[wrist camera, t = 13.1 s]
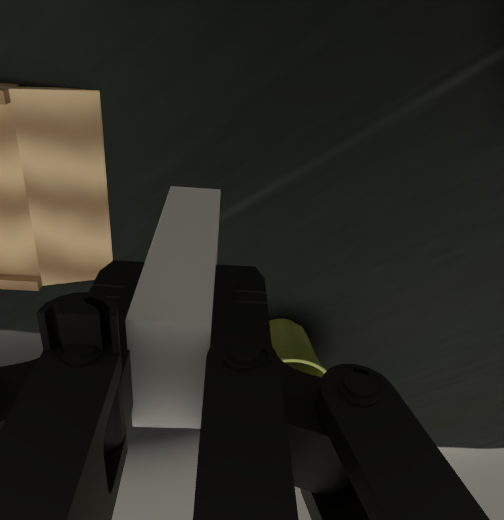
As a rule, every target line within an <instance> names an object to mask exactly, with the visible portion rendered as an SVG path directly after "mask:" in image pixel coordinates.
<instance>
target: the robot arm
mask: <svg viewBox="0 0 504 520" xmlns="http://www.w3.org/2000/svg"><path fill="white" fill-rule="evenodd" d="M220 192H221V190H219V189H204V188H189V187H174V186H171V187H170V190H169V193H168V196H167V199H166V202H165V205H164V208H163V211H162V214H161V217H160V220H159V223H158V225H157V228H156V231H155V234H154V237H153V240H152V243H151V246H150V249H149V252H148V255H147V258H146V261H145V262H134V261H116V260H113V261H112V262H111V263H109V264H108V265H107V266H105V267H104V268H103V269H101V270H100V271H99V273H98V275H97V277H96V279H95V281H94V283H93V286H92V287H91V289H90V291H89V292H83V293H71V294H67V295H64V296H60V297H57V298H55V299H53V300H51V301H49V302H47V303H45V304H44V305H43V306H42V307H41V308H40V309H39V310H38V311H37V312H36V313H37V318H38V323H39V329H40V334H41V339H42V344H43V352H42V354H41V356H40V358H37V359H35V360H32V361H27V362H24V363H19V364H14V365H8V366H2V367H0V520H111V519H112V515H113V511H114V506H115V502H116V498H117V494H118V489H119V485H120V481H121V476H122V472H123V468H124V463H125V459H126V454H127V450H128V444H127V443H128V440H127V428H128V424H129V420H130V415H131V412H132V425H133V427H165V428H166V427H167V428H199V429H200V441H199V454H198V466H197V477H196V490H195V502H194V514H193V515H194V516H193V520H298V512H297V504H296V496H295V488H294V486H296V487H299V488H301V493H302V496H303V498H304V501H305V504H306V506H307V509H308V511H309V514H310V517H311V519H312V520H489V518H488V517H487V515H486V514H485V513H484V511H483V510H482V509H481V507H480V506H479V504H478V503H477V502H476V500H475V499H474V497H473V496H472V495H471V493H470V492H469V490H468V489H467V488H466V486H465V485H464V483H463V482H462V481H461V479H460V478H459V477H458V475H457V474H456V472H455V471H454V470H453V468H452V467H451V466H450V464H449V463H448V461H447V460H446V459H445V457H444V456H443V454H442V453H441V452H440V450H439V449H438V448H437V446H436V445H435V443H434V442H433V441H432V439H431V438H430V436H429V435H428V434H427V432H426V431H425V430H424V428H423V427H422V425H421V424H420V423H419V421H418V420H417V418H416V417H415V416H414V414H413V413H412V412H411V410H410V409H409V407H408V406H407V405H406V403H405V402H404V400H403V399H402V398H401V396H400V395H399V394H398V392H397V391H396V389H395V388H394V387H393V385H392V384H391V383H390V382H389V381H388V380H387V379H386V378H385V377H384V376H383V375H381V374H379V373H378V372H376V371H374V370H372V369H370V368H368V367H364V366H360V365H357V364H340V365H337V366H334V367H331V368H330V369H329V370H327V371H326V372H325V373H324V374H323V376H322V377H319V376H315V375H312V374H308V373H305V372H302V371H299V370H297V369H294V368H292V367H291V366H289V365H287V364H286V363H284V362H283V361H282V360H281V359H280V358H279V357H278V356H277V353H276V351H275V349H274V348H273V346H272V343H271V334H270V325H269V315H268V306H267V297H266V288H265V279H264V277H263V276H262V275H261V273H260V272H259V271H258V270H257V269H256V267H250V266H232V265H217V248H218V229H219V211H220Z"/></svg>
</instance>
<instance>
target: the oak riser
mask: <svg viewBox="0 0 504 520" xmlns="http://www.w3.org/2000/svg"><path fill="white" fill-rule="evenodd" d="M112 261H113V258H112V245H111V233H110V220H109V207H108V194H107V181H106V169H105V156H104V143H103V130H102V118H101V105H100V92H99V91H96V90H84V89H71V88H55V87H20V84H9V83H0V289H12V290H32V291H39V290H40V288H41V287H42V286H44V285H52V284H61V283H69V282H78V281H86V280H95V279H96V277H97V275H98V273H99V271H100V270H101V269H103V268H104V267H105V266H107V265H108V264H109V263H111V262H112Z"/></svg>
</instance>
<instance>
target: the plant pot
mask: <svg viewBox="0 0 504 520" xmlns="http://www.w3.org/2000/svg"><path fill="white" fill-rule="evenodd" d="M269 325H270V334H271V343H272V346H273V348H274V349H275V351H276V353H277V356H278V357H279V358H280V359H281V360H282V361H283V362H284V363H286V364H287V365H289V366H291V367H292V368H294V369H297V370H299V371H302V372H305V373H308V374H312V375H315V376H319V377H322V376H323V374H324V373H325V372H326V371H327V370H326V369H325V368H324V367H323V366H322V365H321V364H320V363H319V361H318V359H317V357H316V354H315V352H314V350H313V348H312V346H311V343H310V341H309V339H308V337H307V335H306V332H305V330H304V329H303V327H302V326H300V325H298V324H296V323H295V322H293V321H291V320H289V319H273V320H270V321H269Z"/></svg>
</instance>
